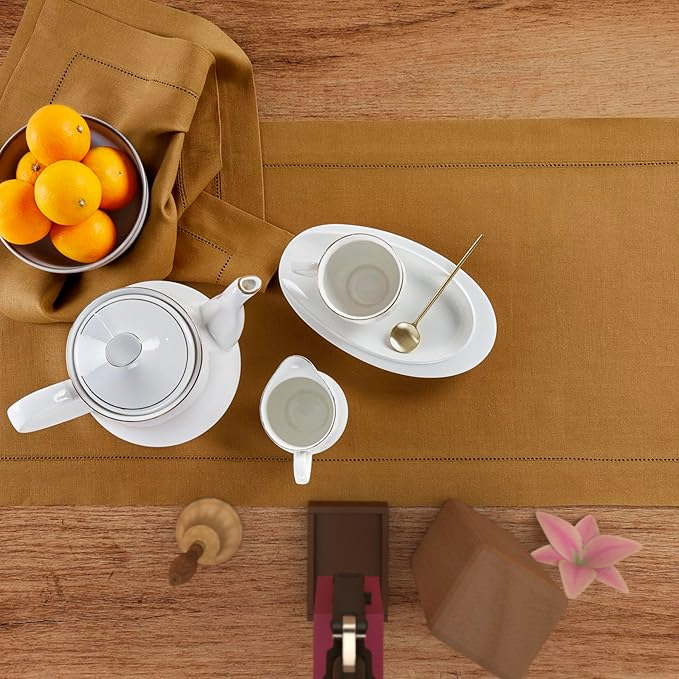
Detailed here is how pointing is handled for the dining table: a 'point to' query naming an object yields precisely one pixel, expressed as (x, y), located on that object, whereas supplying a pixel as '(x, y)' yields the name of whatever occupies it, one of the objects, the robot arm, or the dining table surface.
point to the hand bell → (204, 537)
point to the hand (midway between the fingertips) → (348, 614)
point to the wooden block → (484, 591)
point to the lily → (583, 553)
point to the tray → (347, 543)
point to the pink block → (324, 616)
